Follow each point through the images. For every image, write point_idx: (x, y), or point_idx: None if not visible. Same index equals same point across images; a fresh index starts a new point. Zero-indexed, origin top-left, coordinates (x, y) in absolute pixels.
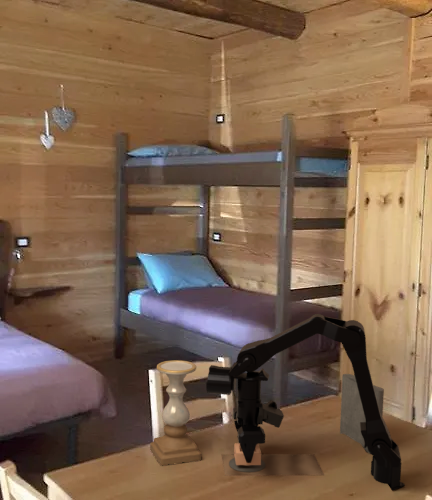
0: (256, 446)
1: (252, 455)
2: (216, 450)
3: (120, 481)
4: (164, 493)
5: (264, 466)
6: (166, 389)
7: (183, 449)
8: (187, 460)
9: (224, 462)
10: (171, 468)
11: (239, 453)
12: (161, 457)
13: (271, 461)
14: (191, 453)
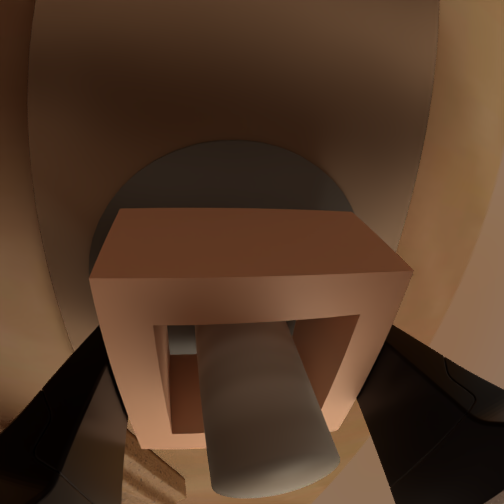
0: (209, 310)
1: (408, 339)
2: (3, 369)
3: (269, 498)
4: (350, 451)
5: (300, 159)
6: None
7: (146, 495)
8: (149, 455)
9: None
10: (201, 468)
11: (343, 416)
12: (180, 499)
13: (178, 70)
14: (136, 469)
